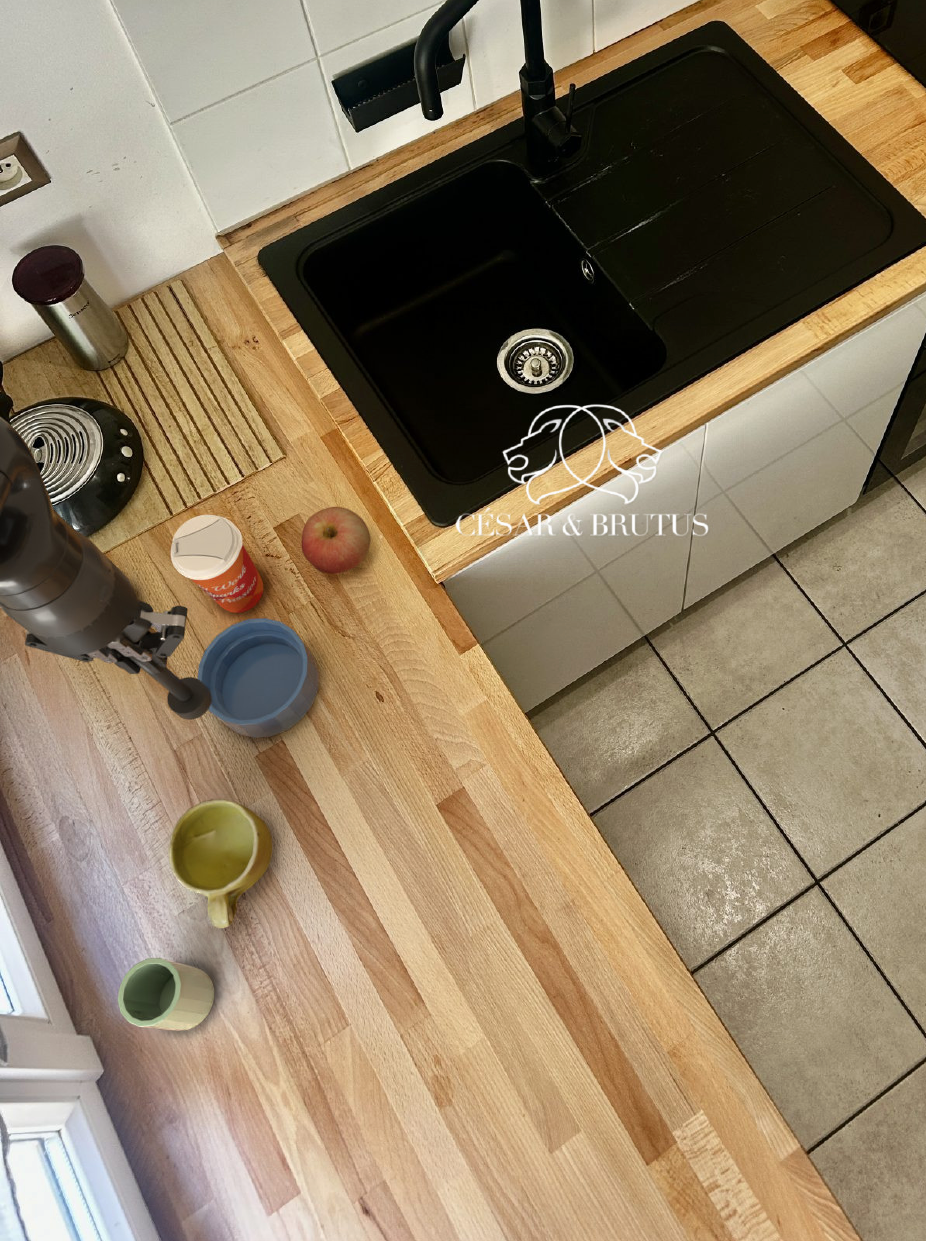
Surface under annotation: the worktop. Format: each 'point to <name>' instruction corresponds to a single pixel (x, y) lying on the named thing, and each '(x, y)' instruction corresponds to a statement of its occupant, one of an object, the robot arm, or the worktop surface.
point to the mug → (220, 854)
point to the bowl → (259, 677)
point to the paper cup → (217, 562)
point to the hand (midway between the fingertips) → (148, 662)
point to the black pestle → (182, 693)
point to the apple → (335, 540)
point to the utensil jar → (165, 995)
